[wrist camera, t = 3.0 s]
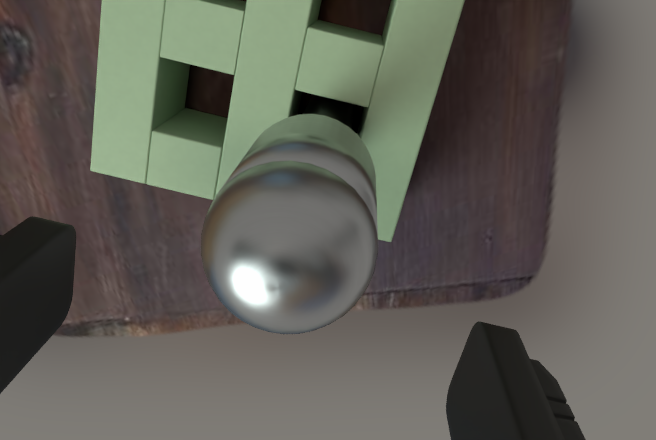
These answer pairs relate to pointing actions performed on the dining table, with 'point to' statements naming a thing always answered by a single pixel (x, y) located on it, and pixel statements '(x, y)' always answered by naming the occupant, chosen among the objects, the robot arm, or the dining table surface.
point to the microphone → (295, 223)
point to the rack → (261, 86)
